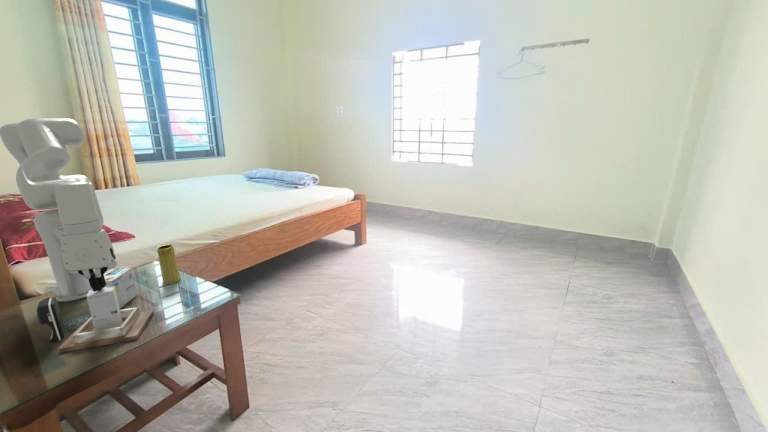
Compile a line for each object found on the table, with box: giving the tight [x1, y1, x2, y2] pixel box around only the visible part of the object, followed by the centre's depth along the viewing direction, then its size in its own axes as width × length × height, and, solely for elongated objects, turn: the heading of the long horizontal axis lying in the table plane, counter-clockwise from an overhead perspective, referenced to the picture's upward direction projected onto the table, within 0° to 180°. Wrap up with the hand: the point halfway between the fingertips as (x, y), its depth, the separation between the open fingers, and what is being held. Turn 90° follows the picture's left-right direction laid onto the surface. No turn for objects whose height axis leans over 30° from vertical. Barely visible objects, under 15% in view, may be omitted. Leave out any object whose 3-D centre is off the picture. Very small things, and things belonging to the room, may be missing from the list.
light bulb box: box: [91, 267, 138, 309], centre depth 113 cm, size 11×7×11 cm, turn 6°
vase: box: [156, 244, 182, 285], centre depth 128 cm, size 6×6×14 cm
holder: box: [57, 306, 154, 353], centre depth 98 cm, size 18×14×4 cm
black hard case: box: [36, 297, 66, 343], centre depth 95 cm, size 7×4×11 cm, turn 40°
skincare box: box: [86, 286, 122, 331], centre depth 97 cm, size 6×4×12 cm
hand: (99, 289), depth 95 cm, fingers closed
